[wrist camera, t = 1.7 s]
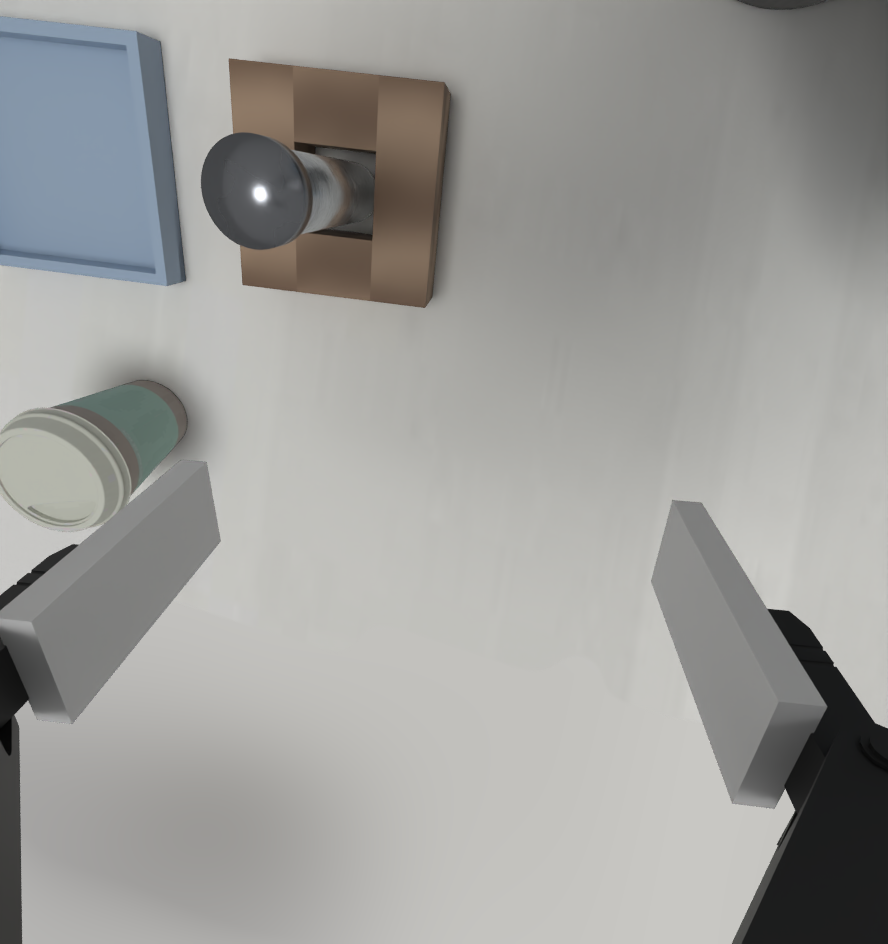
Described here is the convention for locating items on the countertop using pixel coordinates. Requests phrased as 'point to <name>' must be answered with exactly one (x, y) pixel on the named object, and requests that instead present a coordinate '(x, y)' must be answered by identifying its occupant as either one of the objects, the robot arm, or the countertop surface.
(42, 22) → the tray
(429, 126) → the socket block
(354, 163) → the pin
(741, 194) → the countertop surface
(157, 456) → the coffee cup
